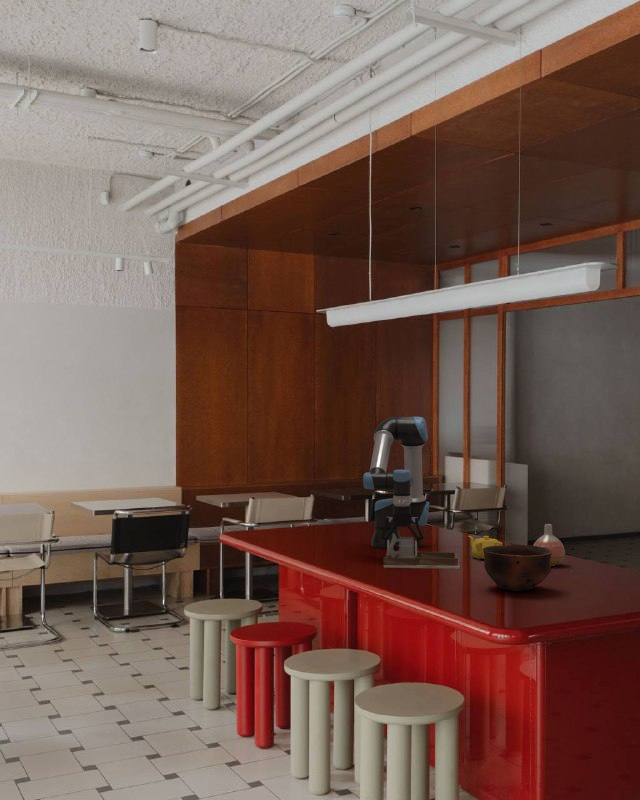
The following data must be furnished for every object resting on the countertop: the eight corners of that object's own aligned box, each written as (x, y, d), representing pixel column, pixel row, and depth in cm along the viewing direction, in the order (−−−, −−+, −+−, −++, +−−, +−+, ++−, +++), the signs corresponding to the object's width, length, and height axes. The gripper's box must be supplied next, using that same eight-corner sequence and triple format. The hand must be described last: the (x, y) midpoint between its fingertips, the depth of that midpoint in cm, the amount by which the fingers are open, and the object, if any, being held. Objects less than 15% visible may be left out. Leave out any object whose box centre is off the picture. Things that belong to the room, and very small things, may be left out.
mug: (417, 561, 390) (418, 534, 390) (391, 562, 388) (391, 534, 388) (412, 558, 398) (412, 531, 398) (386, 559, 395) (386, 532, 396)
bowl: (509, 598, 318) (508, 555, 318) (470, 586, 341) (470, 546, 341) (566, 593, 328) (565, 551, 328) (524, 581, 351) (524, 542, 351)
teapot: (472, 561, 399) (471, 538, 399) (467, 556, 412) (467, 534, 412) (503, 561, 399) (502, 538, 399) (497, 556, 412) (497, 534, 412)
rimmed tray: (386, 559, 404) (386, 550, 404) (458, 560, 400) (458, 551, 400) (383, 567, 384) (383, 557, 384) (459, 568, 380) (459, 559, 380)
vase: (530, 567, 383) (530, 525, 383) (534, 562, 396) (533, 522, 396) (563, 569, 378) (563, 527, 378) (566, 564, 391) (566, 523, 391)
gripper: (374, 505, 391) (374, 556, 391) (429, 506, 388) (429, 557, 388) (375, 504, 398) (375, 553, 398) (429, 504, 395) (429, 554, 395)
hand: (402, 555), depth 393 cm, fingers closed on mug, 11 cm apart
